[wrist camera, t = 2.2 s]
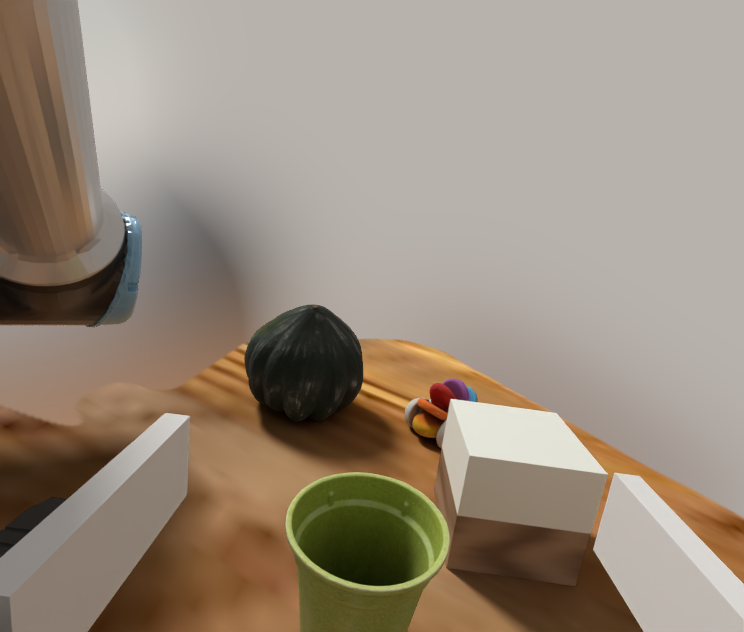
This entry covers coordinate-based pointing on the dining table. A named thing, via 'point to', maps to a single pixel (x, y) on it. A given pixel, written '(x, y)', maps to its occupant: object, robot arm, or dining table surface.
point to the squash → (305, 363)
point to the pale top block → (520, 467)
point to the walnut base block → (508, 544)
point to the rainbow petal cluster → (436, 408)
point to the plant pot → (363, 552)
